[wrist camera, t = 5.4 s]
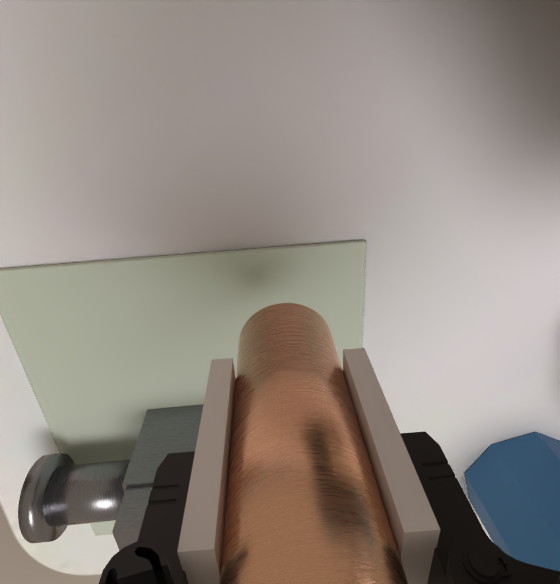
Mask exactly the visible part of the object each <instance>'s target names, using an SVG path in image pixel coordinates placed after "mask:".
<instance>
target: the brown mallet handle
mask: <svg viewBox="0 0 560 584" xmlns="http://www.w3.org/2000/svg"><path fill="white" fill-rule="evenodd" d="M219 584H408V582H407V579H406V576H405V573H404V569H403V566H402V563H401V559H400V556H399V553H398V550H397V546H396V543H395V540H394V537H393V533H392V530H391V527H390V524H389V520H388V517H387V514H386V511H385V507H384V504H383V501H382V498H381V494H380V491H379V488H378V485H377V481H376V478H375V475H374V471H373V468H372V465H371V462H370V458H369V455H368V452H367V449H366V445H365V442H364V439H363V436H362V432H361V429H360V426H359V423H358V419H357V416H356V413H355V410H354V406H353V403H352V400H351V397H350V393H349V390H348V387H347V383H346V380H345V377H344V374H343V370H342V367H341V364H340V361H339V357H338V354H337V351H336V348H335V344H334V341H333V338H332V335H331V331H330V329H329V326H328V324H327V323H326V321H325V320H324V319H323V317H322V316H321V315H320V314H318V313H317V312H316V311H314V310H313V309H311V308H309V307H307V306H304V305H300V304H296V303H279V304H274V305H270V306H267V307H265V308H263V309H261V310H259V311H258V312H256V313H255V314H253V315H252V316H251V317H250V318H249V319H248V320H247V322H246V323H245V325H244V326H243V328H242V330H241V333H240V337H239V346H238V359H237V371H236V385H235V397H234V409H233V422H232V434H231V447H230V459H229V472H228V484H227V497H226V509H225V522H224V534H223V547H222V559H221V572H220V582H219Z"/></svg>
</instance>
